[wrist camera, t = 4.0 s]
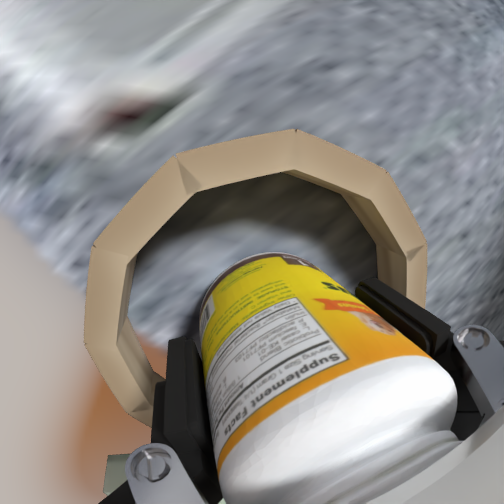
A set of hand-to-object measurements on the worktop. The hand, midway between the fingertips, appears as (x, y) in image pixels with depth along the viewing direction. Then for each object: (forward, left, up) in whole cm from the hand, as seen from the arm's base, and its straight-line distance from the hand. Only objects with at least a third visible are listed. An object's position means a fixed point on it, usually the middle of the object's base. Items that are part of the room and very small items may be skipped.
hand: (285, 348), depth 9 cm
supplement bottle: (0, 0, -3) cm, 3 cm away
